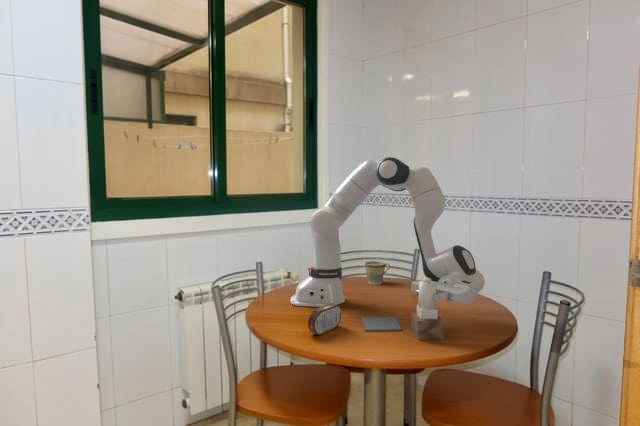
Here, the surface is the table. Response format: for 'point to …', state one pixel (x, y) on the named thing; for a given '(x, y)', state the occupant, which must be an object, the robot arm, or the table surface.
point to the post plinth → (426, 328)
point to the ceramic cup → (375, 271)
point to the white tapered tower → (427, 300)
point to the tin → (324, 319)
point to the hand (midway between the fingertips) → (425, 295)
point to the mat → (381, 324)
